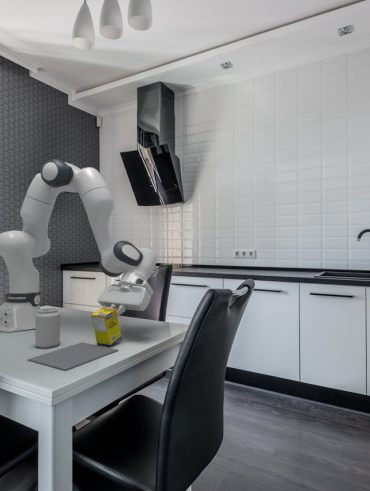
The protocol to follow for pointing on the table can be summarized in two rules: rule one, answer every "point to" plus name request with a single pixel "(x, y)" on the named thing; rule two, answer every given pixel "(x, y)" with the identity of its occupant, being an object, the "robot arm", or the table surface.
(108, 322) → the supplement box
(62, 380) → the table surface
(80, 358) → the rubber mat
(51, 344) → the can
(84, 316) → the table surface
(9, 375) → the table surface
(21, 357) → the table surface
